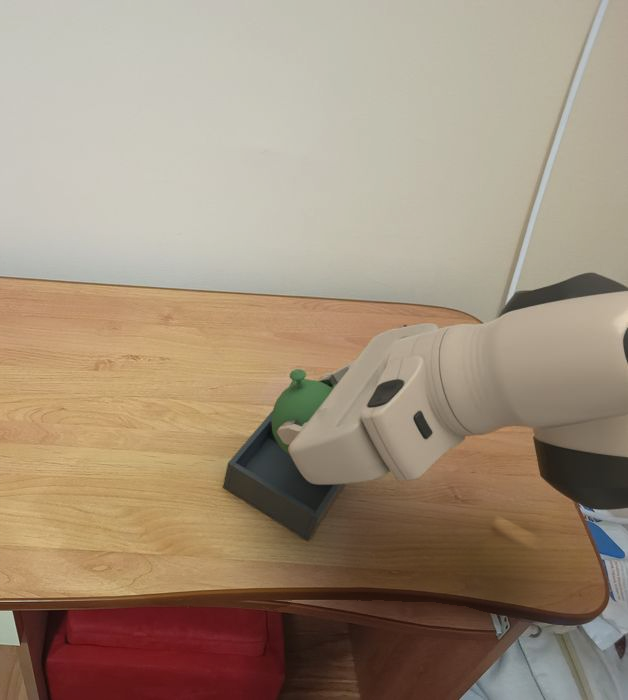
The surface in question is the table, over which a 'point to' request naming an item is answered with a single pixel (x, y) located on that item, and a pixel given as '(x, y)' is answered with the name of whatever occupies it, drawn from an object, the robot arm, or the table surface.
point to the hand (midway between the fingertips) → (303, 408)
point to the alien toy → (298, 402)
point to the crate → (278, 484)
